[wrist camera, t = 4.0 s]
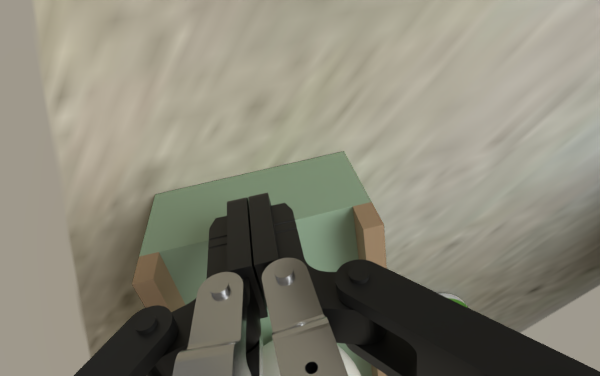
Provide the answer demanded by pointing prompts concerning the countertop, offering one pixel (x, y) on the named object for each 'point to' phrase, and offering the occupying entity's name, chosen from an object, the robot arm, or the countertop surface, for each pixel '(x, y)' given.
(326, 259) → the runway
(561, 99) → the countertop surface
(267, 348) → the ball
